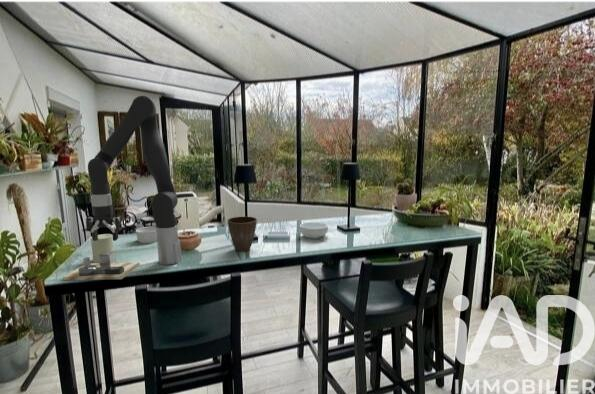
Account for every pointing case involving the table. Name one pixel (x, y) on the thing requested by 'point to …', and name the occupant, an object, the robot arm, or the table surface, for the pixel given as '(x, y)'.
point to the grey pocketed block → (107, 259)
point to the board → (127, 269)
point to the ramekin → (147, 234)
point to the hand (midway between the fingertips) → (105, 240)
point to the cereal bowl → (313, 229)
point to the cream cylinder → (101, 246)
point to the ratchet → (97, 269)
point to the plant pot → (242, 232)
